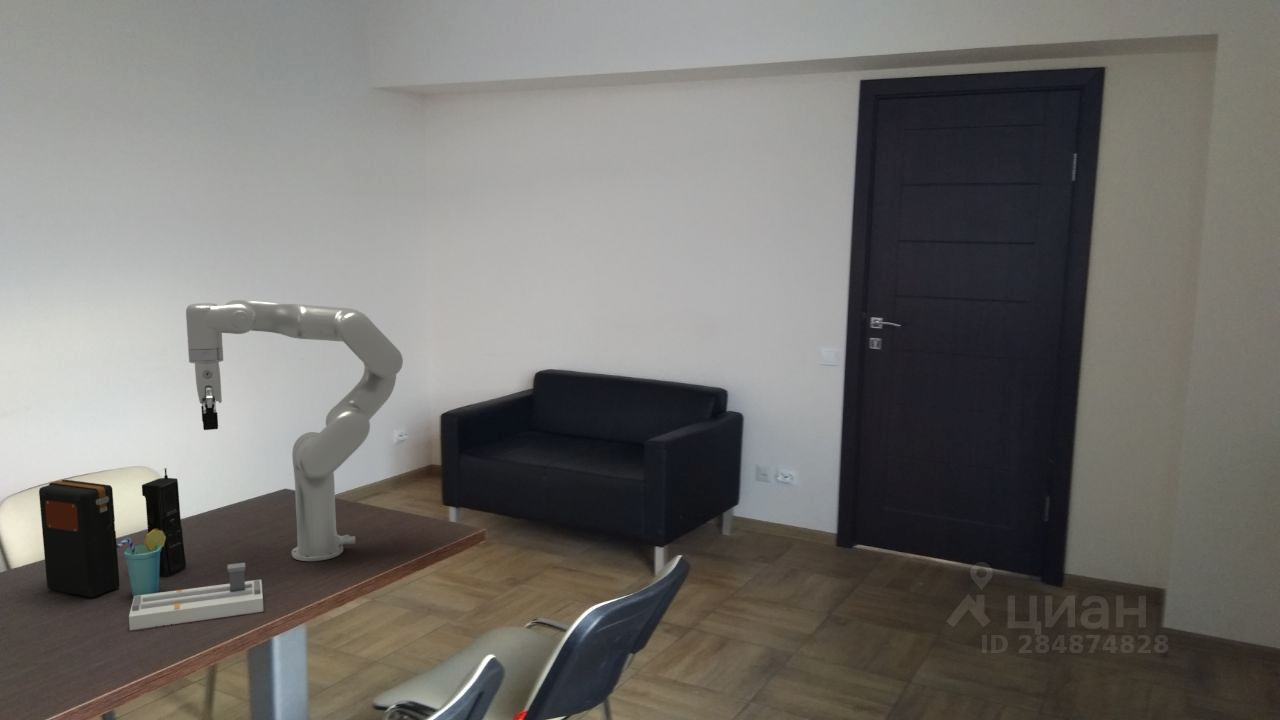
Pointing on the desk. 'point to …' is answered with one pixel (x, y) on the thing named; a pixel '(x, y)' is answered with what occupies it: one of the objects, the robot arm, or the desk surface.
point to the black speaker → (79, 537)
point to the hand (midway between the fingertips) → (210, 425)
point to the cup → (144, 563)
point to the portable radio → (166, 521)
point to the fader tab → (236, 576)
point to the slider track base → (194, 605)
